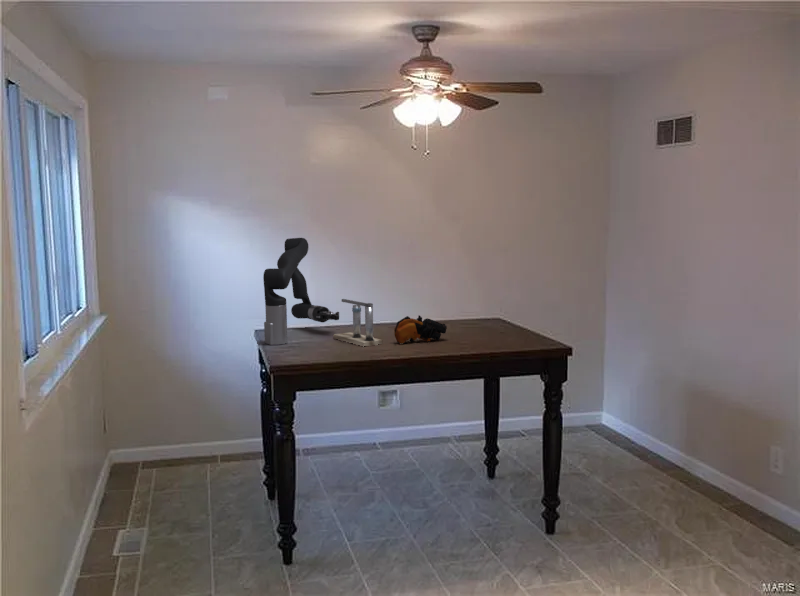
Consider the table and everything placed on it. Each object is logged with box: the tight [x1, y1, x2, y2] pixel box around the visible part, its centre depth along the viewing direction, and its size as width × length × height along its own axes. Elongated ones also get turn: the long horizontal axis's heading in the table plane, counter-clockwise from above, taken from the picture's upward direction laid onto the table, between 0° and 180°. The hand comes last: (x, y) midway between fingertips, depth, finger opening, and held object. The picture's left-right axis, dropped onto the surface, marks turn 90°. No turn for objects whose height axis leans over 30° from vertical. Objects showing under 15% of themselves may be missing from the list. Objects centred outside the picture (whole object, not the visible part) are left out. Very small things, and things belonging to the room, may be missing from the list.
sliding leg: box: [351, 304, 362, 337], centre depth 341 cm, size 4×4×14 cm
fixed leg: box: [341, 298, 374, 341], centre depth 341 cm, size 3×23×16 cm, turn 36°
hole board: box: [333, 331, 384, 348], centre depth 342 cm, size 10×25×2 cm, turn 36°
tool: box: [393, 315, 448, 344], centre depth 340 cm, size 8×23×15 cm, turn 110°
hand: (337, 317), depth 354 cm, fingers closed
